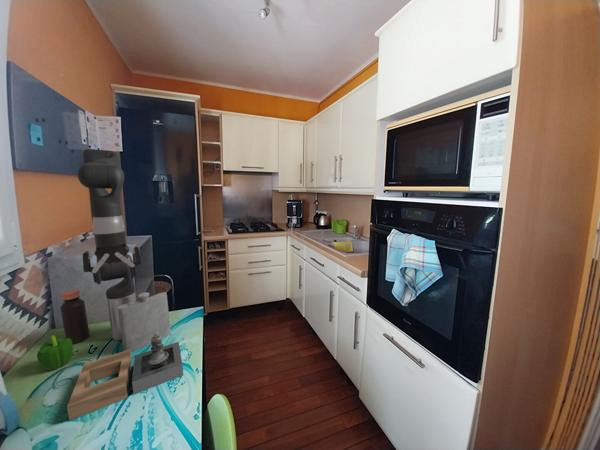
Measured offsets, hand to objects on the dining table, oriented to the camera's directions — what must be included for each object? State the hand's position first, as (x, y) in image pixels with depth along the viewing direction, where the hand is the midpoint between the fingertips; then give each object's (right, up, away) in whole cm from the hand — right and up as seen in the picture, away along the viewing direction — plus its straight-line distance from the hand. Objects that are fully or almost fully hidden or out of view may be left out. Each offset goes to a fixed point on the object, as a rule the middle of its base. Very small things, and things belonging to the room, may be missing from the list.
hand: (116, 280), depth 75 cm
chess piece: (+13, -29, +2) cm, 32 cm away
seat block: (+13, -30, +2) cm, 33 cm away
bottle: (-30, -28, +19) cm, 45 cm away
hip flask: (0, -28, +16) cm, 32 cm away
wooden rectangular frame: (0, -31, -4) cm, 31 cm away
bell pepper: (-24, -30, +5) cm, 39 cm away
